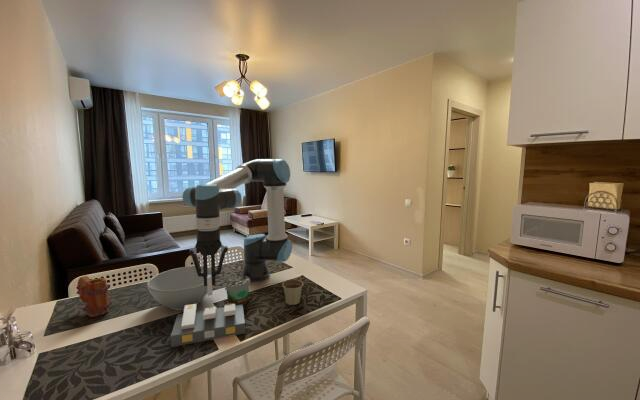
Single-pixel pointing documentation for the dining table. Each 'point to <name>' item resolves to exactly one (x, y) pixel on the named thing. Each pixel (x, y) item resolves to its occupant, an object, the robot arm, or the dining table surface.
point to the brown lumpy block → (94, 295)
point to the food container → (238, 292)
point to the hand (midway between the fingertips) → (210, 293)
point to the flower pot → (292, 291)
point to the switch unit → (208, 327)
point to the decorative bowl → (178, 287)
